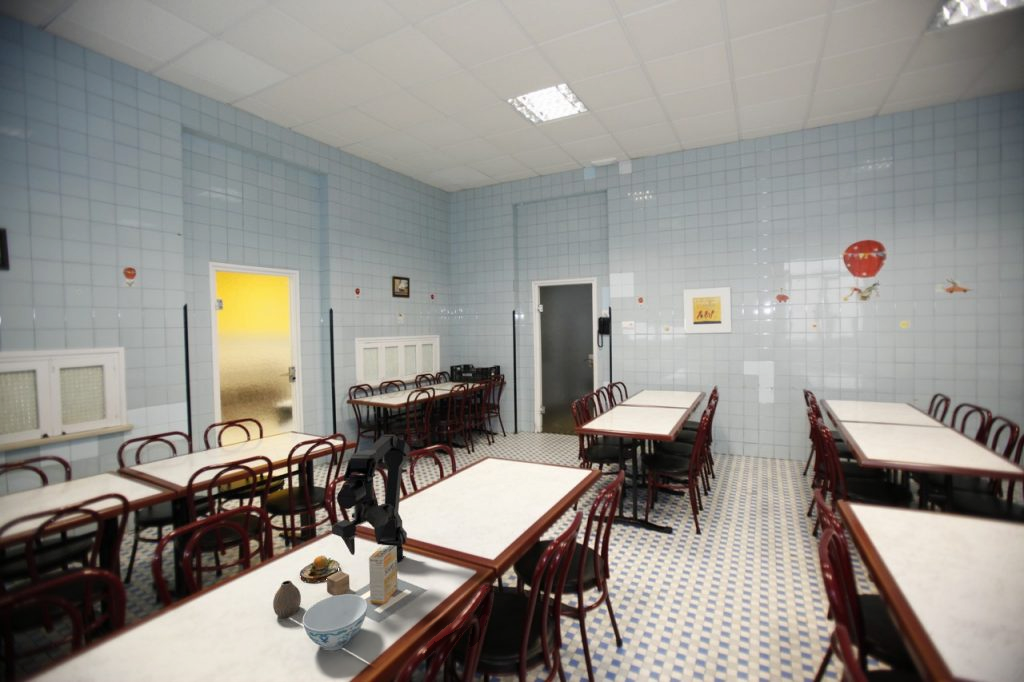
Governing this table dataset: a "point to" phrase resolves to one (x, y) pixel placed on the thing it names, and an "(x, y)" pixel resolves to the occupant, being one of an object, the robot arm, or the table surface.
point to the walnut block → (338, 583)
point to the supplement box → (383, 574)
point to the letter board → (390, 600)
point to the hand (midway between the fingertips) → (365, 548)
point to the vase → (286, 600)
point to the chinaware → (335, 620)
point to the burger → (319, 569)
